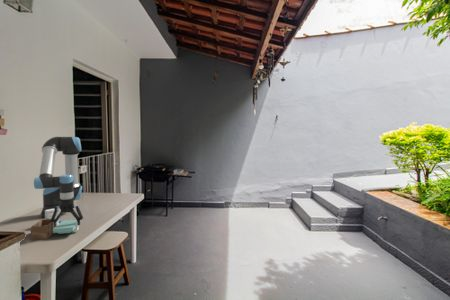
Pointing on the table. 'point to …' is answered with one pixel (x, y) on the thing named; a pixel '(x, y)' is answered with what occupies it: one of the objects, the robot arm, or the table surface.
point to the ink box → (50, 213)
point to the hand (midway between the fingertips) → (67, 230)
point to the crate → (42, 229)
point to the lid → (65, 227)
